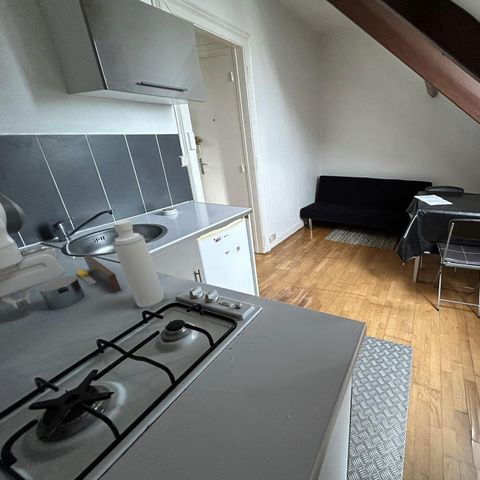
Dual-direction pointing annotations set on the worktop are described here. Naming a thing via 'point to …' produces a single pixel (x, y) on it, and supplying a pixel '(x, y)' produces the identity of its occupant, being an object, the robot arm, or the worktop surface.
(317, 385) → the worktop surface
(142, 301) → the white bottle
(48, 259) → the robot arm
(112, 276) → the backboard
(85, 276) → the knife
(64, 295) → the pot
